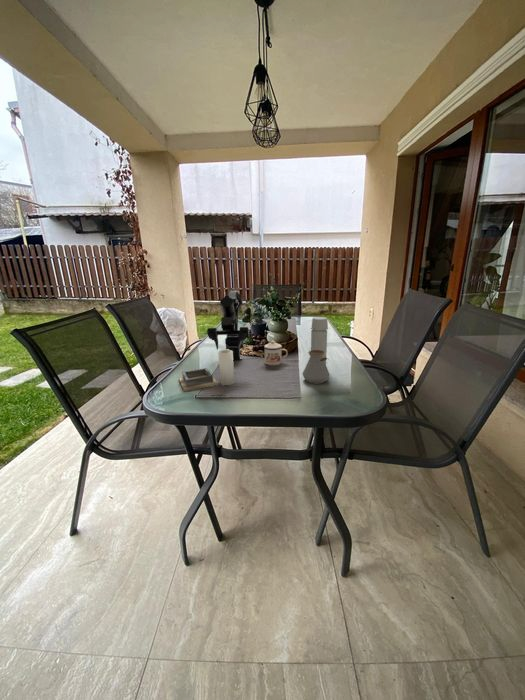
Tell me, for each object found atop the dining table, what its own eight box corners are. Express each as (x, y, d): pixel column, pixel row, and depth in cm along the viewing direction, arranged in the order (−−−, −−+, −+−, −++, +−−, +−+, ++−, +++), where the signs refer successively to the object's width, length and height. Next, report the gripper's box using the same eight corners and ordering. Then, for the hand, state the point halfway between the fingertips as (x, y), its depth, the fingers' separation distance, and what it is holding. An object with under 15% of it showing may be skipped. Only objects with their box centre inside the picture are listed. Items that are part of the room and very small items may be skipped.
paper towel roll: (218, 381, 126) (216, 350, 122) (232, 379, 128) (230, 349, 124) (222, 386, 120) (220, 354, 117) (236, 384, 123) (234, 352, 119)
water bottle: (326, 373, 132) (328, 319, 125) (309, 372, 133) (310, 319, 126) (326, 367, 140) (328, 316, 133) (310, 366, 142) (311, 316, 135)
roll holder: (179, 379, 129) (178, 371, 128) (209, 374, 134) (209, 366, 133) (184, 391, 117) (183, 382, 116) (217, 385, 122) (217, 376, 121)
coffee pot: (300, 376, 130) (300, 344, 126) (325, 375, 130) (326, 343, 126) (310, 396, 109) (311, 358, 105) (340, 395, 110) (342, 357, 106)
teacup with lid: (264, 366, 144) (264, 343, 141) (264, 360, 153) (263, 339, 150) (288, 365, 144) (288, 342, 141) (286, 359, 153) (286, 338, 150)
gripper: (206, 310, 128) (203, 340, 121) (247, 309, 128) (247, 339, 120) (210, 324, 138) (208, 352, 130) (249, 323, 138) (249, 351, 130)
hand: (227, 349), depth 128 cm, fingers open, 9 cm apart
